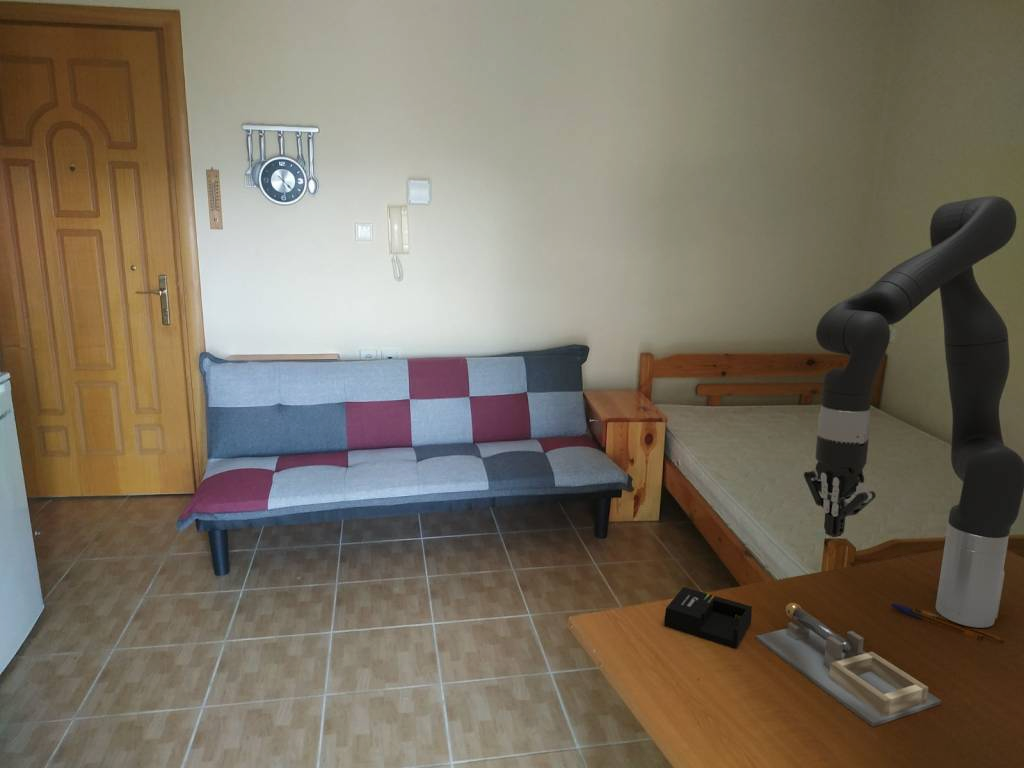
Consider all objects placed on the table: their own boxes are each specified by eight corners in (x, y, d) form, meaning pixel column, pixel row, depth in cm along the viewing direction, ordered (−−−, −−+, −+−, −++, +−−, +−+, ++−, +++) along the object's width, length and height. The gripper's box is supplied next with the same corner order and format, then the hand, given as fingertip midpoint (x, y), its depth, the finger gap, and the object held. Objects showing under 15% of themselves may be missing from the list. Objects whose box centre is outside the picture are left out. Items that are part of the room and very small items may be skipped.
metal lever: (793, 611, 123) (794, 598, 123) (854, 655, 111) (856, 641, 111) (781, 614, 122) (783, 601, 122) (842, 658, 110) (844, 644, 110)
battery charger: (663, 628, 124) (665, 607, 123) (681, 605, 132) (682, 586, 131) (736, 651, 117) (738, 630, 117) (750, 626, 125) (752, 606, 125)
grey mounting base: (816, 623, 126) (820, 595, 125) (940, 704, 104) (946, 670, 103) (755, 639, 121) (758, 609, 119) (872, 726, 99) (877, 691, 98)
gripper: (794, 426, 116) (786, 524, 119) (859, 447, 104) (849, 555, 107) (827, 422, 119) (819, 517, 122) (895, 442, 107) (884, 547, 110)
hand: (833, 535), depth 115 cm, fingers closed
